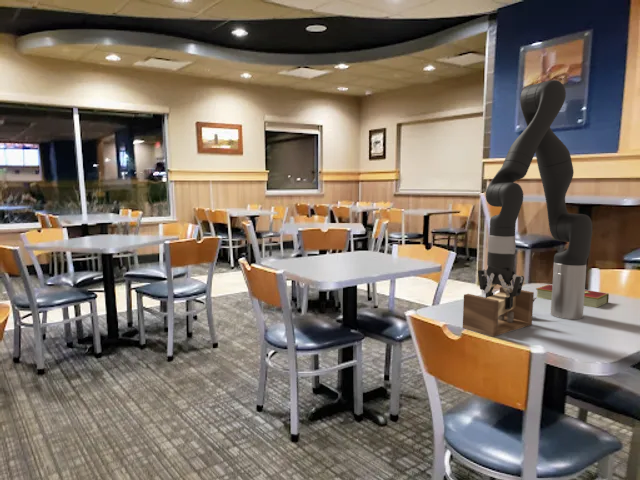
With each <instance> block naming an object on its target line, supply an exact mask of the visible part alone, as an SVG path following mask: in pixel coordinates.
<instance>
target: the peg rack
mask: <svg viewBox="0 0 640 480" xmlns="http://www.w3.org/2000/svg"><path fill="white" fill-rule="evenodd" d="M499 290H500V292H501V293H505V291H504V290H503V288H502V286H500V287H499ZM534 294H535V293H534V291H530V290H529V291H528V290H523V289H521V293H520V295H518V296H516V305H515V308H514V309H512V310H510V311H508V312H506V313H504V314H502V315H500V316H498V303H499V301H498V300H494V299H489V298H486V296H485V297H484V296H480V295H475V294H472V293H467V294H466V293H465V294H463V306H462V307H463V309H462V328H463V329H466V330H469V331H472V330H473V332H475V331H476V332H475V333H479V334H482V333H483V334H482V335H485V334H486V335H485V336H489V337H492V338H493V337H494V338H495V337H496V336H500V335H504V334H507V333H509V332H513V331H516V330H519V329H522V328H525V327H529V326H532V324H533V312H534V311H533V310H534V309H533V308H534V302H533V298H534V296H535V295H534Z"/></svg>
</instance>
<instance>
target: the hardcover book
mask: <svg viewBox="0 0 640 480" xmlns="http://www.w3.org/2000/svg"><path fill="white" fill-rule="evenodd" d="M535 290H537V291H536V299H537V298H538V299H543V300H548V301H549V300H550V301H552V284H546V285H542V286H539V287H536V288H535ZM609 297H610V295H609V293H606V292H603V291H602V292H601V291H593V290H588V289H585V294H584V307H590V308H596V309H598V308H600V306H603V305H605V304H609Z"/></svg>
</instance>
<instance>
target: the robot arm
mask: <svg viewBox="0 0 640 480" xmlns="http://www.w3.org/2000/svg"><path fill="white" fill-rule="evenodd" d="M566 94H567V93H566V88H565V86H564V84H563V82H561V81H560V80H558V79H557V80H556V79H551V80H546V81H542V82H539V83H534V84H531V85H528V86H526V87H524V89H522V91H521V93H520V98H519V101H520V107H521V112H522V116H523V118H524V121H525V124H526V128H525V129H523V131H522V132H521V133H520V134H519V135H518V137H517V138H516V139H515V140H514V141H513V143H512V144H511V146H510V147H509V149H508V151H507V154H506V156H505V159H504V160H503V164H502V166H501V168H500V169H499V170H498V171H497V172H496V174H495V175H494V176H493V178H492V179H491V181H490V182H489V184H488V186H487V187H486V191H485V200H486V202H487V204H488V205H489V206H491V207H499V208H501V209H500V212H499V214H497V215H493V216H491V218H490V221H489V234H488V242H487V257H486V258H487V261H486V262H487V263H486V264H487V269H479V270H477V275H478V282H479V283H478V284H479V289H480V290H482V291H484V293H485V298H487V297H489V296H492V295H494V289H495V287H497V285H498V286H500V287H502V288H503V290H504V291H505V294H506V297H505V309H506V310H509V309H511V308H512V307H513V297H514V296H518V295H520V293H521V290H523V289H522V288H523V285H524V280H525V276H523V275H518V274H515V267H516V266H515V265H516V264H515V262H516V249H517V248H516V225H517V224H516V223H517V219H518V217H519V214H520V211H521V208H522V205H523V202H524V191H523V188H522V186H521V185H520V184H519V183H517V182H516V181H519V180H522V179H523V178H525V177H526V175H527V173H528V171H529V169H530V167H531V164H532V162H533V158H534V156H535V158H536V163H537V168H538V171H539V177H540V180H541V184H542V188H543V193H544V198H545V204H546V211H547V219H548V226H549V232H550V234H551V236H552V238H553V239H554V240H556V241H558V242H564V243H568V247H567V248H566V250H563V251H560V252H556V253H555V254H554V256H553V270H552V271H553V272H552V284H551V285H552V300H550V301H551V304H550V315H551V316H554V317H556V318H557V317H558V318H562V319H567V320H568V319H569V320H580V319H583V317H584V308H585V306H584V294H585V290H586V278H587V264H588V263H587V261H588V258H589V256H590V252H591V251H590V250H591V245H592V244H591V243H592V237H593V222H592V219H591V217H590V216H589V215H587V214H585V213H584V214H583V213H569V211H568V209H567V205H566V204H567V203H566V197H567V196H566V195H567V192H568V190H569V187H570V185H571V183H572V181H573V178H574V166H573V165H574V164H573V160H572V157H571V154H570V151H569V149H568V147H567V146H566V145H565V144H564V142H563V141H562V140H561V139H560V138H559V137H558V136H557V135H556V133H555V132H554V131H553V130H552V128H551V126H552V124H553V122H554V121H555V120H556V118H557V116H558V114H559V113H560V111H561V110H562V108H563V105H564V104H565V101H566V96H567V95H566ZM512 280H513V282H514V283H512Z"/></svg>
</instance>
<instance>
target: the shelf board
mask: <svg viewBox="0 0 640 480" xmlns="http://www.w3.org/2000/svg"><path fill="white" fill-rule="evenodd" d="M505 297H506V294H505V293H501V292H499V293H497V294H495V293H493V295H492V296H489V297H487V298H489V299H494V300H498V301H499V303H498V316H500V315H502V314H504V313H506V312H508V311H510V310H512V309H514V308H515V305H516V296H514V297H513V307H512V308H511V309H509V310H506V309H505Z"/></svg>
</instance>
